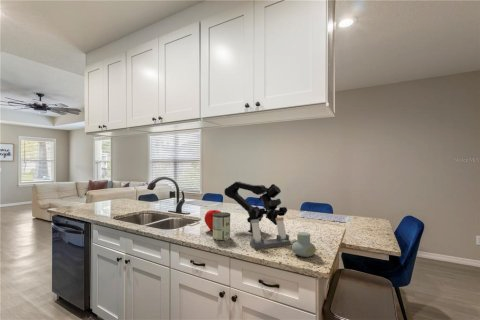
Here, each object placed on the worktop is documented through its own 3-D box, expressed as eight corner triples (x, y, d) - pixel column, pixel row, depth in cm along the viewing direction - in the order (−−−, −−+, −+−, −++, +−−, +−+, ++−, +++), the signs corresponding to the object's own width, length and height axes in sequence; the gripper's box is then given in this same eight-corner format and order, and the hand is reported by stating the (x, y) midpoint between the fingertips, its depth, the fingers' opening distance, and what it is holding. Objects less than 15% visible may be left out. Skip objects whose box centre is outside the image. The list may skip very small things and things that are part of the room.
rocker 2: (278, 239, 128) (275, 218, 133) (285, 238, 130) (281, 217, 134) (280, 239, 127) (276, 217, 131) (287, 238, 128) (283, 217, 132)
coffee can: (216, 235, 144) (216, 211, 145) (232, 236, 141) (232, 212, 142) (209, 239, 134) (209, 214, 135) (226, 241, 131) (226, 216, 132)
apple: (201, 231, 151) (201, 210, 152) (209, 227, 162) (209, 207, 163) (218, 233, 148) (218, 211, 148) (225, 228, 159) (225, 208, 159)
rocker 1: (253, 242, 123) (250, 220, 127) (260, 241, 125) (257, 219, 129) (254, 242, 122) (251, 219, 126) (262, 241, 123) (258, 219, 127)
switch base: (249, 245, 125) (249, 236, 125) (284, 241, 132) (284, 233, 132) (254, 249, 119) (254, 240, 120) (290, 244, 127) (290, 236, 127)
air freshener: (302, 260, 106) (302, 237, 106) (289, 254, 113) (289, 233, 113) (318, 255, 112) (318, 233, 112) (304, 250, 119) (304, 230, 119)
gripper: (257, 194, 138) (266, 217, 127) (285, 193, 144) (296, 215, 133) (252, 206, 145) (260, 229, 134) (279, 204, 151) (288, 226, 140)
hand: (276, 224), depth 135 cm, fingers closed
